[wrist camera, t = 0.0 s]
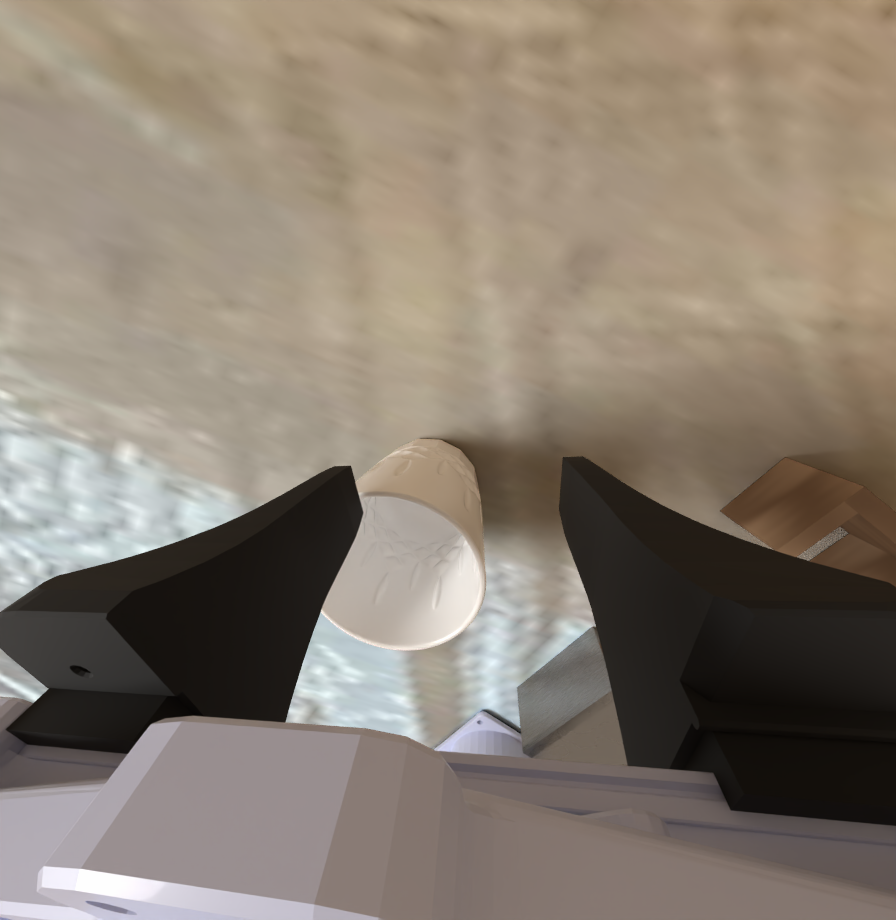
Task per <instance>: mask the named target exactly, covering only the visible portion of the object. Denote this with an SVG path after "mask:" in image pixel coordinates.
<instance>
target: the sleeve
mask: <svg viewBox="0 0 896 920" xmlns="http://www.w3.org/2000/svg"><path fill="white" fill-rule="evenodd" d="M517 691H518V703H519V715H520V726H521V738H522V749H523V753H524V754H526V755H527V756H529V757H530V758H535V759H547V760H560V761H572V762H585V763H597V764H610V765H622V766H628V765H627V760H626V755H625V750H624V745H623V741H622V736H621V731H620V726H619V721H618V717H617V712H616V708H615V703H614V699H613V694H612V690H611V685H610V681H609V676H608V672H607V668H606V664H605V660H604V656H603V652H602V647H601V643H600V639H599V635H598V631H597V630H596V629H595V628H594V627H592V628H590V629H589V630H588V631H587V632H585V633H584V634H583V635H582V636H581V637H579V638H578V639H577V640H576V641H574V642H573V643H572V644H571V645H569V646H568V647H567V648H566V649H564V650H563V651H562V652H561V653H560V654H558V655H557V656H556V657H555V658H553V659H552V660H551V661H550V662H548V663H547V664H546V665H545V666H543V667H542V668H541V669H540V670H539V671H537V672H536V673H535V674H534V675H532V676H531V677H530V678H529V679H527V680H526V681H525V682H524V683H523V684H521V685H520V686H519V687H518V688H517Z"/></svg>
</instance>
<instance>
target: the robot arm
mask: <svg viewBox="0 0 896 920" xmlns="http://www.w3.org/2000/svg"><path fill="white" fill-rule="evenodd" d="M559 511H560V516H561V520H562V525H563V529H564V534H565V537H566V540H567V542H568V545H569V548H570V551H571V553H572V556H573V559H574V561H575V564H576V567H577V569H578V572H579V575H580V577H581V580H582V583H583V585H584V588H585V591H586V593H587V596H588V599H589V602H590V605H591V608H592V612H593V616H594V620H595V624H596V628H597V631H598V635H599V639H600V643H601V647H602V652H603V656H604V660H605V664H606V668H607V672H608V676H609V681H610V685H611V690H612V694H613V699H614V703H615V708H616V712H617V717H618V721H619V726H620V731H621V736H622V741H623V745H624V750H625V755H626V760H627V765H628V766H622V765H610V764H597V763H585V762H572V761H560V760H547V759H535V758H530V757H529V756H527V755H526V754H524V753H523V749H522V738H521V734H520V733H518V732H517V731H515V730H514V729H512V728H510V727H509V726H507V725H506V724H504V723H502V722H501V721H499V720H498V719H496V718H494V717H493V716H491V715H490V714H488V713H486V712H483V711H482V712H479V713H478V714H477V715H476V716H474V717H473V718H472V719H471V720H469V721H468V722H467V723H466V724H465V725H463V726H462V727H461V728H460V729H459V730H457V731H456V732H455V733H454V734H452V735H451V736H450V737H449V738H448V739H446V740H445V741H444V742H443V743H441V744H440V745H439V746H438V747H437V748H435V749H434V750H433V749H431V748H429V747H427V746H425V745H423V744H421V743H419V742H416V741H414V740H412V739H410V738H408V737H406V736H401V735H396V734H391V733H386V732H381V731H376V730H371V729H366V728H353V727H339V726H326V725H312V724H298V723H285V721H286V718H287V714H288V710H289V706H290V703H291V699H292V696H293V693H294V689H295V686H296V683H297V680H298V676H299V673H300V670H301V666H302V663H303V660H304V657H305V654H306V651H307V648H308V645H309V642H310V639H311V637H312V634H313V631H314V628H315V625H316V623H317V620H318V617H319V615H320V612H321V609H322V607H323V604H324V602H325V599H326V597H327V595H328V593H329V591H330V589H331V587H332V585H333V583H334V581H335V579H336V576H337V574H338V572H339V570H340V568H341V566H342V565H343V563H344V561H345V559H346V557H347V554H348V552H349V550H350V548H351V546H352V544H353V542H354V540H355V538H356V535H357V532H358V529H359V527H360V523H361V520H362V517H363V513H364V512H363V508H362V505H361V501H360V498H359V494H358V490H357V487H356V483H355V479H354V476H353V472H352V468H351V466H334V467H332V468H329V469H327V470H325V471H323V472H321V473H320V474H318V475H316V476H314V477H312V478H311V479H309V480H307V481H305V482H304V483H302V484H300V485H298V486H297V487H295V488H293V489H291V490H290V491H288V492H286V493H284V494H283V495H281V496H279V497H277V498H275V499H273V500H271V501H269V502H268V503H266V504H264V505H262V506H260V507H258V508H256V509H254V510H252V511H250V512H248V513H246V514H244V515H242V516H240V517H238V518H236V519H233V520H231V521H229V522H227V523H224V524H222V525H220V526H217V527H215V528H212V529H210V530H207V531H205V532H202V533H199V534H197V535H194V536H191V537H189V538H186V539H184V540H181V541H178V542H175V543H173V544H170V545H167V546H164V547H161V548H157V549H154V550H151V551H148V552H145V553H141V554H138V555H135V556H132V557H128V558H125V559H121V560H118V561H114V562H110V563H106V564H102V565H99V566H95V567H91V568H87V569H83V570H79V571H75V572H71V573H67V574H63V575H59V576H56V577H54V578H52V579H50V580H48V581H46V582H44V583H42V584H41V585H39V586H38V587H36V588H35V589H33V590H32V591H30V592H29V593H27V594H26V595H25V596H23V597H22V598H20V599H19V600H17V601H16V602H14V603H13V604H11V605H10V606H8V607H7V608H5V609H4V610H3V611H1V612H0V648H1V649H2V650H3V651H4V652H5V653H6V654H7V655H8V656H9V657H11V658H12V659H13V660H14V661H15V662H17V663H18V664H19V665H20V666H21V667H23V668H24V669H25V670H26V671H28V672H29V673H30V674H31V675H32V676H34V677H35V678H36V679H37V680H38V681H40V682H41V683H42V684H43V685H45V686H46V687H47V688H49V689H48V690H47V691H46V692H45V693H44V694H43V695H42V696H41V697H40V698H39V699H37V700H36V701H35V702H34V703H31V702H28V701H26V700H23V699H19V698H11V697H0V920H896V587H895V586H894V585H892V584H891V583H889V582H885V581H882V580H878V579H874V578H870V577H867V576H863V575H859V574H855V573H851V572H848V571H844V570H840V569H836V568H833V567H829V566H825V565H821V564H818V563H814V562H810V561H807V560H803V559H800V558H797V557H794V556H791V555H787V554H784V553H781V552H778V551H775V550H772V549H768V548H765V547H762V546H759V545H756V544H754V543H751V542H748V541H745V540H742V539H739V538H737V537H734V536H732V535H729V534H726V533H724V532H721V531H719V530H716V529H713V528H711V527H708V526H706V525H704V524H701V523H699V522H697V521H694V520H692V519H690V518H688V517H686V516H684V515H681V514H679V513H677V512H675V511H673V510H671V509H669V508H667V507H665V506H663V505H661V504H659V503H657V502H655V501H653V500H652V499H650V498H648V497H646V496H645V495H643V494H641V493H639V492H638V491H636V490H634V489H633V488H631V487H629V486H628V485H626V484H625V483H623V482H621V481H620V480H618V479H617V478H615V477H614V476H612V475H611V474H609V473H608V472H606V471H605V470H603V469H602V468H600V467H599V466H597V465H596V464H594V463H593V462H591V461H590V460H588V459H586V458H585V457H583V456H582V457H563V462H562V476H561V490H560V503H559Z"/></svg>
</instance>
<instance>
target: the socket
mask: <svg viewBox="0 0 896 920" xmlns="http://www.w3.org/2000/svg"><path fill="white" fill-rule="evenodd" d="M721 512H722V513H723V514H725V515H726V516H727V517H729V518H730V519H731V520H733V521H734V522H735V523H737V524H738V525H740V526H741V527H743V528H744V529H745V530H747V531H748V532H750V533H751V534H752V535H754V536H755V537H757V538H758V539H760V540H761V541H762V542H764V543H765V544H767V545H768V546H769V547H771V548H772V549H774V550H775V551H778V552H781V553H784V554H787V555H791V556H794V557H797V556H798V555H800V554H801V553H802V552H804V551H805V550H807V549H808V548H810V547H811V546H812V545H814V544H815V543H817V542H818V541H819V540H821V539H822V538H824V537H825V536H827V535H828V534H829V533H831V532H832V531H834V530H835V529H836V528H838V527H839V526H841V527H842V528H843V529H844V530H846V531H847V532H848V533H849V534H848V535H846V536H845V537H843V538H842V539H840V540H839V541H838V542H836V543H835V544H833V545H832V546H830V547H829V548H827V549H826V550H825V551H823V552H822V553H820V554H819V555H817V556H816V557H814V558H813V559H812V560H810V562H814V563H818V564H821V565H825V566H829V567H833V568H836V569H840V570H844V571H848V572H851V573H855V574H859V575H863V576H867V577H870V578H874V579H878V580H882V581H885V582H889V583H891V584H892V585H894V586H895V587H896V512H894V511H893V510H892V509H891V508H890V507H888V506H887V505H886V504H885V503H884V502H882V501H881V500H880V499H879V498H878V497H876V496H875V495H874V494H873V493H872V492H870V491H869V490H868V489H867V488H866V487H864V486H862V485H859V484H856V483H853V482H851V481H848V480H845V479H843V478H840V477H837V476H834V475H832V474H829V473H826V472H824V471H821V470H818V469H815V468H813V467H810V466H807V465H805V464H802V463H799V462H797V461H794V460H791V459H788V458H786V457H785V458H784V459H782V460H781V461H780V462H779V463H778V464H776V465H775V466H774V467H773V468H772V469H770V470H769V471H768V472H767V473H766V474H764V475H763V476H762V477H761V478H759V479H758V480H757V481H756V482H755V483H753V484H752V485H751V486H750V487H749V488H747V489H746V490H745V491H744V492H742V493H741V494H740V495H739V496H738V497H736V498H735V499H734V500H733V501H732V502H730V503H729V504H728V505H727V506H726V507H724V508H723V509H722V510H721Z"/></svg>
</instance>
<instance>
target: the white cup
mask: <svg viewBox="0 0 896 920" xmlns="http://www.w3.org/2000/svg"><path fill="white" fill-rule="evenodd" d="M355 483H356V487H357V490H358V494H359V498H360V501H361V505H362V508H363V512H364V513H363V517H362V520H361V523H360V527H359V529H358V532H357V535H356V538H355V540H354V542H353V544H352V546H351V548H350V550H349V552H348V554H347V557H346V559H345V561H344V563H343V565H342V566H341V568H340V570H339V572H338V574H337V576H336V579H335V581H334V583H333V585H332V587H331V589H330V591H329V593H328V595H327V597H326V599H325V602H324V604H323V607H322V609H321V612H322V614H323V615H324V616H325V617H326V618H327V619H328V620H329V621H330V622H332V623H333V624H334V625H335V626H337V627H338V628H339V629H341V630H342V631H344V632H345V633H347V634H349V635H350V636H352V637H354V638H356V639H358V640H360V641H363V642H365V643H368V644H371V645H374V646H377V647H381V648H386V649H392V650H420V649H426V648H430V647H434V646H437V645H440V644H443V643H445V642H447V641H449V640H451V639H453V638H454V637H456V636H457V635H459V634H460V633H461V632H463V631H464V630H465V629H466V628H467V627H468V626H469V625H470V624H471V623H472V621H473V620H474V619H475V617H476V616H477V614H478V612H479V610H480V608H481V606H482V603H483V600H484V596H485V590H486V571H485V555H484V536H483V518H482V508H481V499H480V493H479V486H478V482H477V477H476V472H475V468H474V466H473V465H472V463H471V462H470V461H469V460H468V458H467V457H466V456H465V455H464V453H463V452H462V451H461V450H460V449H458V448H456V447H454V446H452V445H450V444H448V443H446V442H444V441H442V440H440V439H416V440H414V441H412V442H409V443H407V444H405V445H403V446H401V447H398V448H397V449H396V450H395V451H394V452H393V453H391V454H390V455H388V456H387V457H385V458H384V459H382V460H381V461H380V462H379V463H377V464H376V465H375V466H374V467H372V468H371V469H370V470H368V471H367V472H366V473H365V474H364V475H362V476H361V477H360V478H359V479H358V480H357V481H356V482H355Z"/></svg>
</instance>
